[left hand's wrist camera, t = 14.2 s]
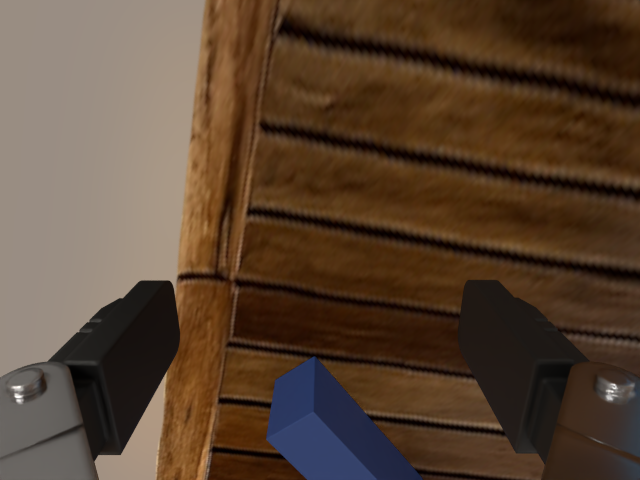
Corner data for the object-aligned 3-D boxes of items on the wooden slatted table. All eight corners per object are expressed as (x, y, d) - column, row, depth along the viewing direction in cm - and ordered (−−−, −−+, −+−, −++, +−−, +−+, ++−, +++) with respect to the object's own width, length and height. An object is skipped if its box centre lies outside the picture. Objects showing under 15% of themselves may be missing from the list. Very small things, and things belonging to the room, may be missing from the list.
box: (275, 379, 49) (265, 439, 41) (314, 355, 48) (313, 411, 39) (385, 496, 56) (397, 568, 48) (422, 477, 55) (441, 548, 46)
